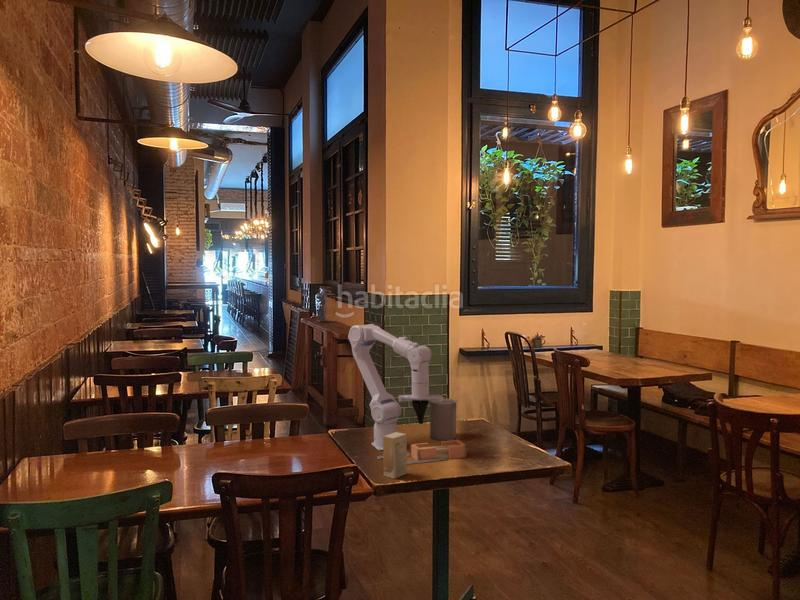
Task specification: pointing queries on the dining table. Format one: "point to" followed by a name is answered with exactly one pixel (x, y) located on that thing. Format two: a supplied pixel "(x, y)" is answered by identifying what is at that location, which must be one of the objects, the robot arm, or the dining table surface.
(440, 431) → the pillar candle
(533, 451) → the dining table surface
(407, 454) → the guide rails
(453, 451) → the pink open box
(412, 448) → the cap sliding
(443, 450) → the pale wooden block
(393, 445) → the skincare box
